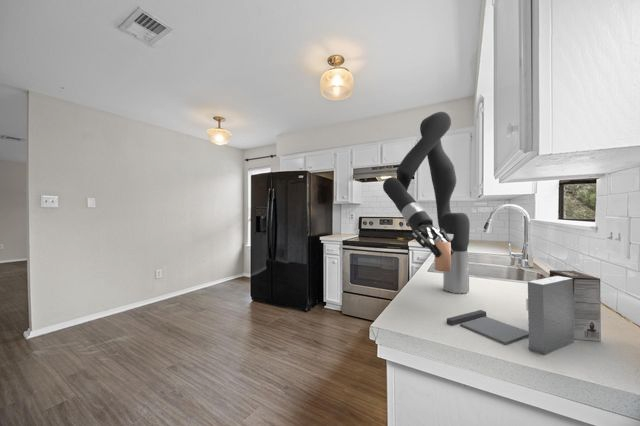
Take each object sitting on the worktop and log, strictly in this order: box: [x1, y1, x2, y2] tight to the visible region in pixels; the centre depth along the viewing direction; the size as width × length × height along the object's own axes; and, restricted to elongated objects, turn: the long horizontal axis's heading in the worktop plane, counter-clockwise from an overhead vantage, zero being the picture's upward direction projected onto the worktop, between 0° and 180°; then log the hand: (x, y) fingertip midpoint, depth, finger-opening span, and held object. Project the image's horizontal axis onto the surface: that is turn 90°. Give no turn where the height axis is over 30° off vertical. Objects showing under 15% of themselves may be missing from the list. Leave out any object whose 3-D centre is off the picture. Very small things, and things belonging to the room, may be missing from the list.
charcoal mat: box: [459, 316, 529, 346], centre depth 70 cm, size 12×12×1 cm
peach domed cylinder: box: [434, 240, 451, 272], centre depth 82 cm, size 5×5×9 cm
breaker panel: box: [525, 276, 575, 356], centre depth 62 cm, size 14×4×16 cm, turn 115°
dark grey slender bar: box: [446, 309, 487, 327], centre depth 77 cm, size 16×2×2 cm, turn 115°
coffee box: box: [549, 269, 602, 342], centre depth 68 cm, size 9×6×16 cm
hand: (445, 254), depth 81 cm, fingers closed on peach domed cylinder, 4 cm apart
